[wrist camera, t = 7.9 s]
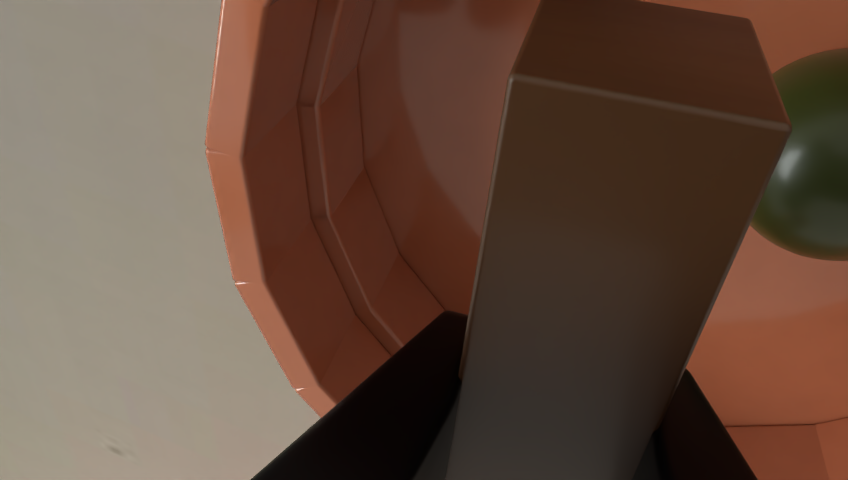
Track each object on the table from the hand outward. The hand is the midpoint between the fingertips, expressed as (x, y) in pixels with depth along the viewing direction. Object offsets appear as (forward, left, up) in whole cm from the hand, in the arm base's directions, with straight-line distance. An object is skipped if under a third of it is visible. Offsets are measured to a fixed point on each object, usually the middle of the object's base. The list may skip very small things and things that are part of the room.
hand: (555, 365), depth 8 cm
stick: (0, 0, -1) cm, 1 cm away
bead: (0, -3, -4) cm, 6 cm away
